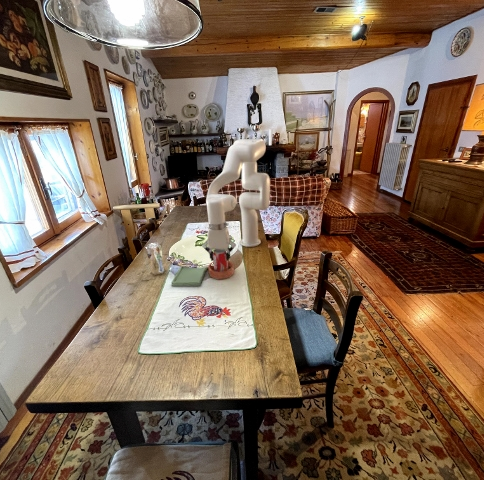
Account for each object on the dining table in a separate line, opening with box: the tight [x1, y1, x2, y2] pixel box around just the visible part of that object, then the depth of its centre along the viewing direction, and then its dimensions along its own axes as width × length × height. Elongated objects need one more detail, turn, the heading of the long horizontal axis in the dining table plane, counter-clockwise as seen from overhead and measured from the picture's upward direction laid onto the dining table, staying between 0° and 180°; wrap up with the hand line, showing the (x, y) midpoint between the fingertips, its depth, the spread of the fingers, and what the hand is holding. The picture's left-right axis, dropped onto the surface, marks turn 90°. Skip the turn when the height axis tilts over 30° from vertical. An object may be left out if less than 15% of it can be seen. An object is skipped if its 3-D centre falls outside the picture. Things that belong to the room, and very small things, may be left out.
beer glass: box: [145, 242, 165, 276], centre depth 127 cm, size 7×7×15 cm
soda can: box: [212, 249, 228, 272], centre depth 123 cm, size 7×7×12 cm
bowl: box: [207, 260, 235, 280], centre depth 125 cm, size 12×12×4 cm
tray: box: [171, 265, 208, 287], centre depth 124 cm, size 17×13×2 cm
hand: (220, 259), depth 123 cm, fingers closed on soda can, 7 cm apart
